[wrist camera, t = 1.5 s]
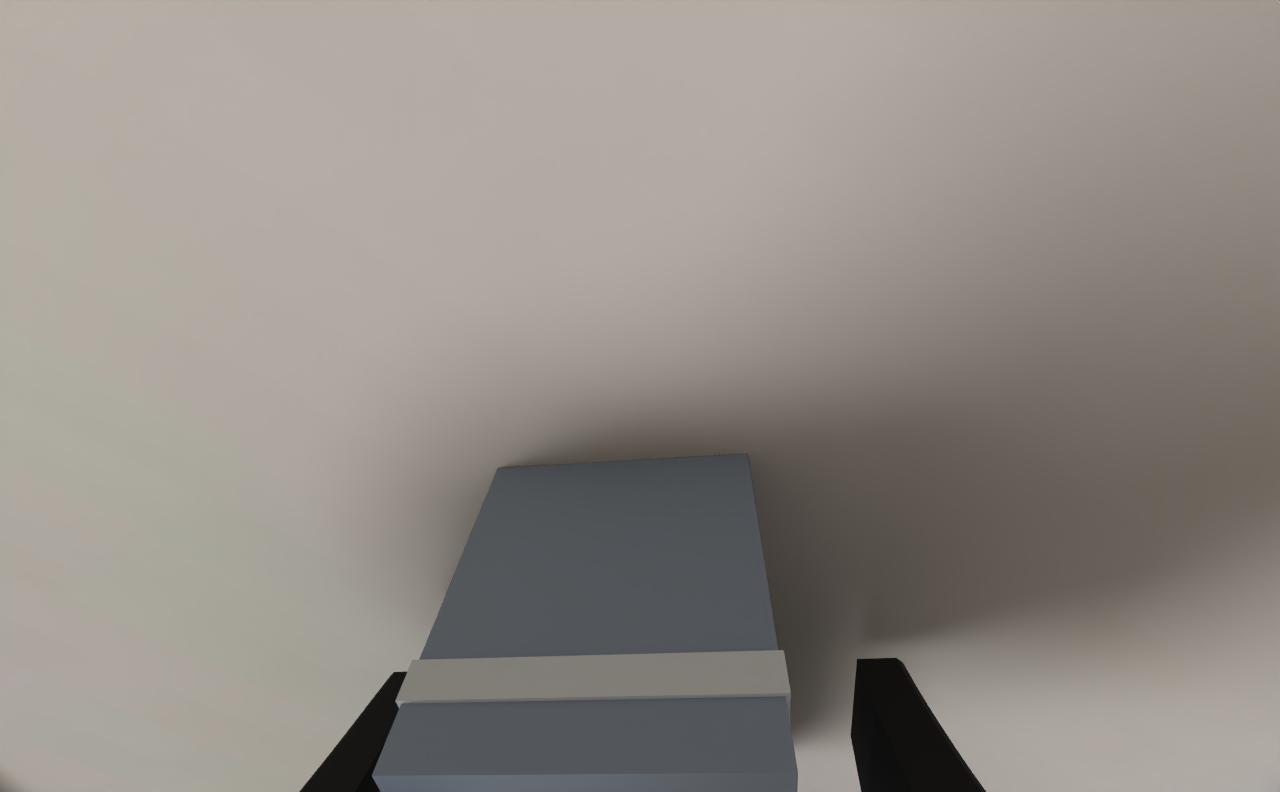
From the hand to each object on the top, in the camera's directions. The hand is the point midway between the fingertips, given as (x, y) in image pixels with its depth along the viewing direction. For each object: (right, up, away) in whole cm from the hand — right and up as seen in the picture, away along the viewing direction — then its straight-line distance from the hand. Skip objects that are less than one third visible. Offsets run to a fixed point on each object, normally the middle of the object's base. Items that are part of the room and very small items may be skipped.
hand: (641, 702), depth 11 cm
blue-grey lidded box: (0, +1, +1) cm, 2 cm away
